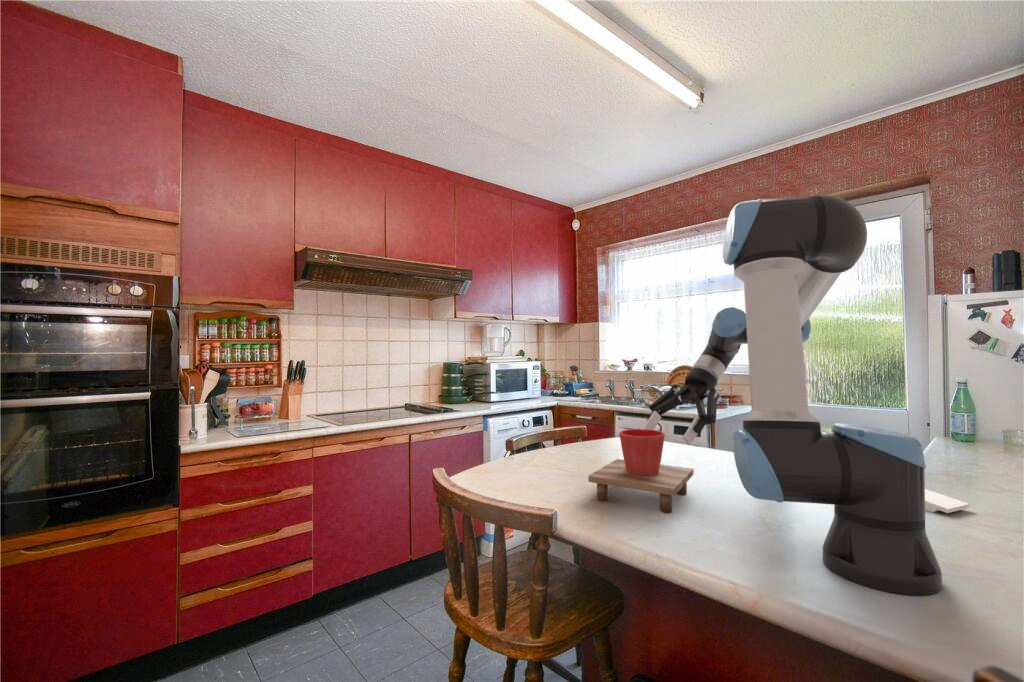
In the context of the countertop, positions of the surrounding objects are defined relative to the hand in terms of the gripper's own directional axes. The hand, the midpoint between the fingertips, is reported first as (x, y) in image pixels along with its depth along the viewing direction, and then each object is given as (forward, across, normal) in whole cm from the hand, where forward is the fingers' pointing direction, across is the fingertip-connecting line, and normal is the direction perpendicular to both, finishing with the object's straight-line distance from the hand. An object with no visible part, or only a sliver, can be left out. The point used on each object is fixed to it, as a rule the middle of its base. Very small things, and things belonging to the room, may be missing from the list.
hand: (664, 437), depth 118 cm
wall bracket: (-22, -28, -43) cm, 56 cm away
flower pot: (+11, 0, 0) cm, 11 cm away
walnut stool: (+15, 0, -4) cm, 16 cm away
